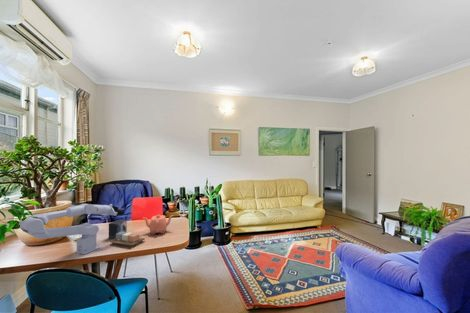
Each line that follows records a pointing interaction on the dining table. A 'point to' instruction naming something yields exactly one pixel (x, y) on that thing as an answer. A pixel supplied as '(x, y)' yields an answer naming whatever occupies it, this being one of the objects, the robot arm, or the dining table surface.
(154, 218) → the teapot
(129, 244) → the brown tray
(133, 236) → the button terracotta
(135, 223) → the dining table surface
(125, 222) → the small box
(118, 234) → the button slate
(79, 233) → the robot arm
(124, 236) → the button cream
